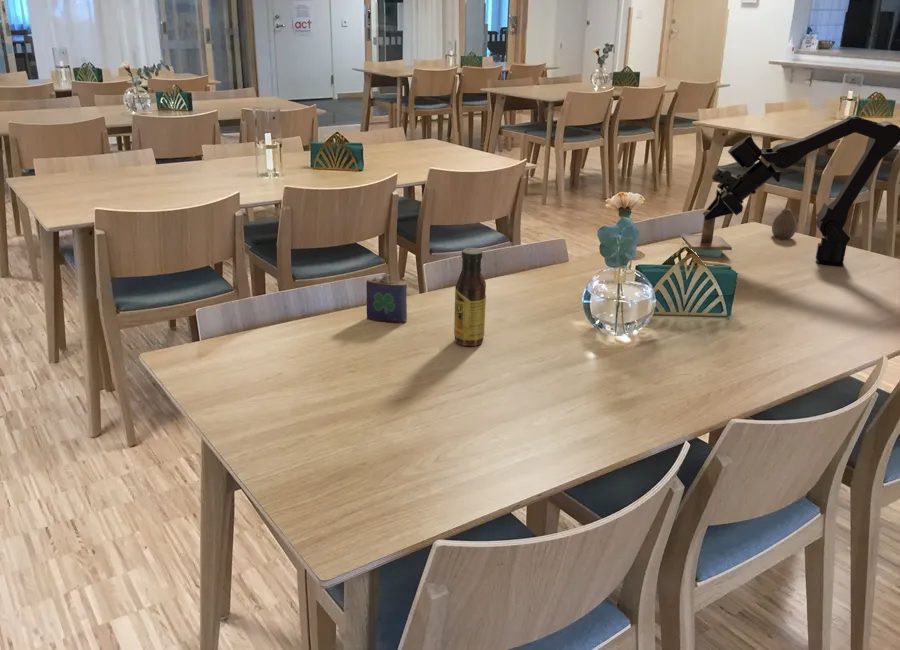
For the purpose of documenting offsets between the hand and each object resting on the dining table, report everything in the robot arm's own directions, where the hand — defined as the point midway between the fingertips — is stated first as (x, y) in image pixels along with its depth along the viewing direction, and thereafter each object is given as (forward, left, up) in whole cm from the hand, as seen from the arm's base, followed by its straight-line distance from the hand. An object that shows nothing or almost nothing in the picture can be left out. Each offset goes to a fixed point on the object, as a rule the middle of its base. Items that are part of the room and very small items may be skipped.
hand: (704, 217), depth 226 cm
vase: (-22, -26, -11) cm, 36 cm away
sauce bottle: (+40, +87, -10) cm, 96 cm away
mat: (+1, -12, -10) cm, 16 cm away
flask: (+61, +82, -11) cm, 102 cm away
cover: (-1, 0, -8) cm, 8 cm away
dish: (-1, 0, -10) cm, 10 cm away
